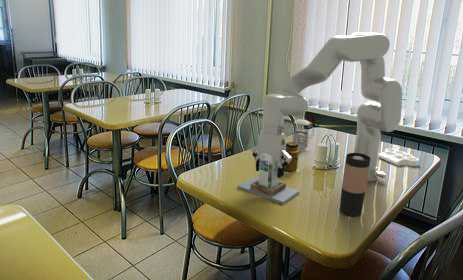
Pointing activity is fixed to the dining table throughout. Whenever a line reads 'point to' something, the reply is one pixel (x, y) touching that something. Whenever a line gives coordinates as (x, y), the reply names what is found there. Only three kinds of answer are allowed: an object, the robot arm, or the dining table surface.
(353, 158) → the travel mug
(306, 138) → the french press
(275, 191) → the socket frame
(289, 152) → the condiment
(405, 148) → the dining table surface
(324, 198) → the dining table surface
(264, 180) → the syrup box
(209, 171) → the dining table surface
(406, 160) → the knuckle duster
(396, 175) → the dining table surface
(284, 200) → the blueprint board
